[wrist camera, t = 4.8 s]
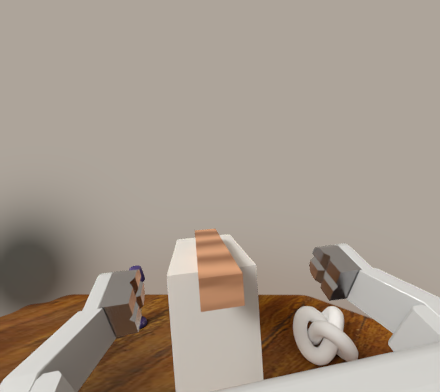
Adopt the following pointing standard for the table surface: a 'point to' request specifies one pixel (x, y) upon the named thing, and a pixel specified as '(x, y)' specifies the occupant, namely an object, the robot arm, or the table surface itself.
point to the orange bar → (217, 273)
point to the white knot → (322, 335)
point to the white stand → (212, 326)
